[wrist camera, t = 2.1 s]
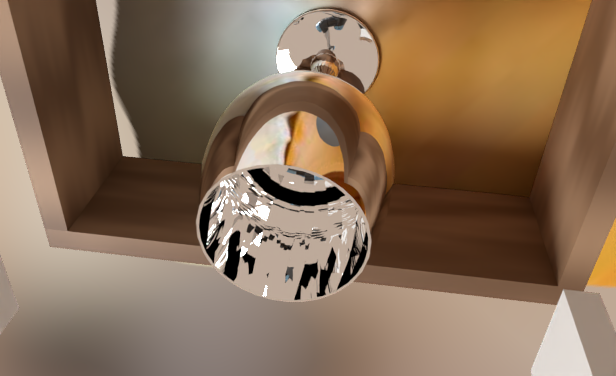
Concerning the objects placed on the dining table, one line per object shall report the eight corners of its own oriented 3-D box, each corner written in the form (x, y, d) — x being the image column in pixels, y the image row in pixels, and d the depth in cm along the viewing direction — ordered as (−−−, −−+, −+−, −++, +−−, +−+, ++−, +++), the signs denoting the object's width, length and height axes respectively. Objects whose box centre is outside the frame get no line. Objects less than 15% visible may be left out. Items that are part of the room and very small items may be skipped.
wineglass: (241, 14, 24) (136, 170, 14) (375, -26, 23) (360, 119, 13) (286, 131, 27) (225, 327, 17) (408, 103, 26) (415, 301, 16)
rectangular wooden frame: (46, -141, 22) (-56, -119, 17) (656, -105, 20) (740, -69, 15) (106, 170, 30) (49, 246, 25) (545, 216, 28) (576, 307, 23)
